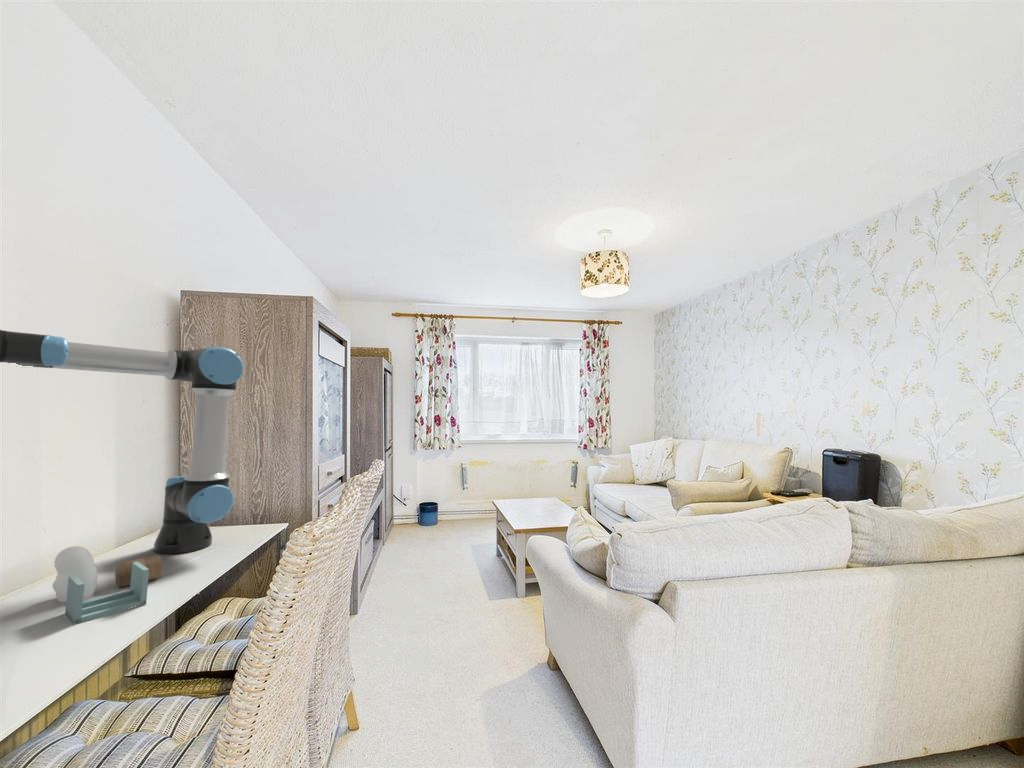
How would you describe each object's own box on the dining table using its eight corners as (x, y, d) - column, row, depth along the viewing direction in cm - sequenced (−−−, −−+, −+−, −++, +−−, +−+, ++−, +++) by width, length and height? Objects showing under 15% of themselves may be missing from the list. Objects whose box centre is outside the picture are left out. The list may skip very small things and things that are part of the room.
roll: (153, 575, 118) (154, 552, 119) (161, 580, 115) (162, 557, 115) (114, 584, 112) (116, 560, 112) (121, 590, 108) (123, 565, 109)
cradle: (134, 595, 106) (137, 561, 106) (146, 604, 101) (149, 569, 102) (65, 613, 96) (68, 575, 96) (74, 624, 91) (77, 585, 92)
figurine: (53, 596, 104) (58, 545, 104) (97, 588, 108) (101, 539, 109) (48, 607, 98) (53, 553, 99) (94, 598, 103) (99, 547, 104)
